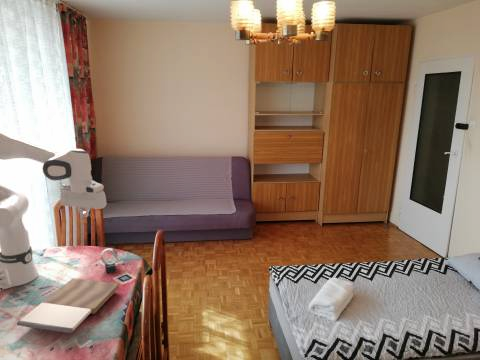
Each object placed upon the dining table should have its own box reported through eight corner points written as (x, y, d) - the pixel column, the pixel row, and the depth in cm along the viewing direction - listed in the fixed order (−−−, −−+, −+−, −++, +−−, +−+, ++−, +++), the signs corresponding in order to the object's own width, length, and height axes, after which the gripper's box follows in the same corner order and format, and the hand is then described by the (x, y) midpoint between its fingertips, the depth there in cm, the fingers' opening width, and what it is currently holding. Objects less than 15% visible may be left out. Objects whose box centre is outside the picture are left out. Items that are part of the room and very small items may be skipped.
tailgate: (42, 305, 132) (17, 326, 120) (42, 301, 132) (16, 322, 120) (91, 312, 128) (70, 334, 117) (91, 308, 128) (69, 330, 116)
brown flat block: (44, 310, 134) (43, 302, 133) (73, 286, 151) (72, 278, 150) (95, 318, 130) (94, 309, 129) (119, 292, 147) (118, 283, 146)
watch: (119, 270, 165) (118, 249, 162) (102, 273, 162) (100, 252, 159) (118, 265, 170) (117, 245, 167) (101, 268, 167) (99, 247, 164)
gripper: (55, 186, 145) (58, 216, 148) (98, 189, 141) (101, 220, 145) (65, 182, 151) (68, 212, 154) (107, 185, 147) (109, 215, 151)
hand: (84, 216), depth 149 cm, fingers closed
